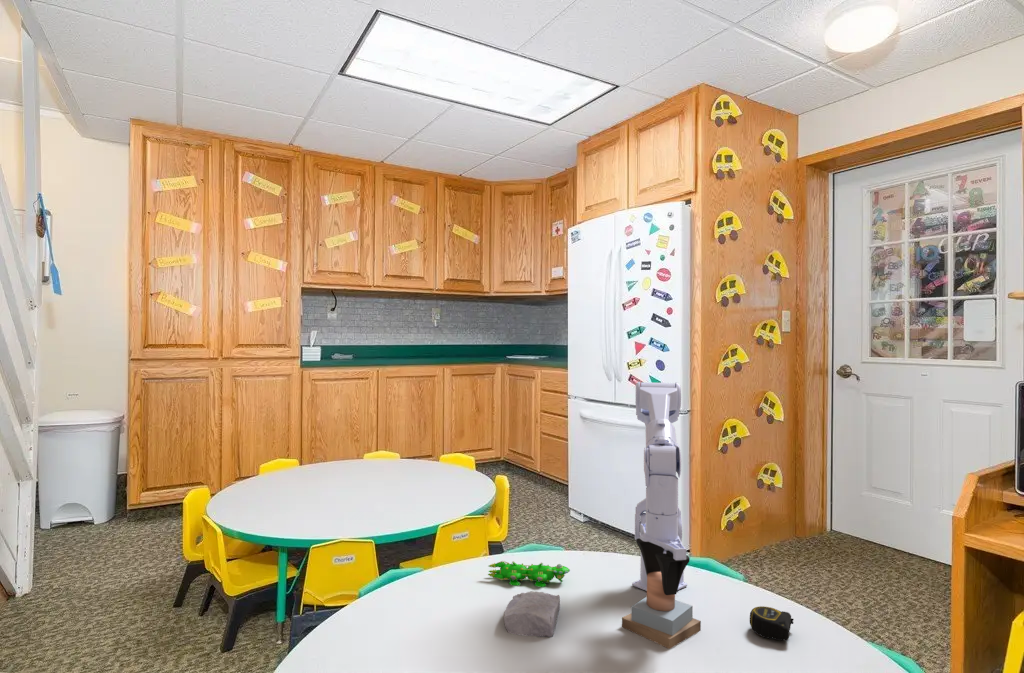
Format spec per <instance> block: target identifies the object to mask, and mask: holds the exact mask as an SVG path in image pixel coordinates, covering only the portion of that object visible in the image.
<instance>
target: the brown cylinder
mask: <svg viewBox="0 0 1024 673" xmlns="http://www.w3.org/2000/svg"><path fill="white" fill-rule="evenodd" d="M646 597H647V601H646V603H647V605H648V606H649V607H650V608H652V609H655V610H659V611H671V610H673V609H674V608H675V600H676V594H675V595H665V594H664V591H663V585H662V575H661V572H651V573H648V575H647V591H646Z"/></svg>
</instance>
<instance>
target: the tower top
mask: <svg viewBox="0 0 1024 673" xmlns="http://www.w3.org/2000/svg"><path fill="white" fill-rule="evenodd" d="M646 601H647V596H645V597H644V598H642V599H641V600H639V601H638V602H636V603H635V604H633V605H631V606H630V608H631V620H632V621H635V622H637V623H640V624H643V625H645V626H648V627H651V628H653V629H656V630H659V631H661V632H664V633H667V634H669V635H672V636H673V635H674V634H675V633H677V632H678V631H679V630H680V629H681V628H683V627H684V626H685V625H686V624H688V623H689V622H690V621H691V620H693V618H694V616H693V614H694V613H693V605H691V604H689V603H685V602H683V601H679V600H676V599H675V608H674V609H673V610H671V611H659V610H655V609H652V608H650V607H649V606H648V605H647V603H646Z"/></svg>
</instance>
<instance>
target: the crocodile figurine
mask: <svg viewBox="0 0 1024 673" xmlns="http://www.w3.org/2000/svg"><path fill="white" fill-rule="evenodd" d="M488 567H489V568H495V569H491V570H488V572H489V573H487V576H489V577H491V578H493V579H494V578H496V579H498V580H500V581H503V580H504V581H505V580H506V581H508V580H509V582H508V585H511V586H514V587H516V586H517V587H518V586H520V585H521V583H520V581H521V582H522V581H523V580H530V582H533V581H535V583H534V586H535V587H539V588H545V587H546V586H547V584H546V583H551V581H552V580H553V579H554V578H555V579H557V580H558V581H560V582H561V583H563V582H564V580H563V579H564V577H565V576H566V574H568V573H569V572H570V571H571V569H570V568H569V567H567V566H565V565H562V564H560V563H558V564H557V565H556V566H550V565H549V564H547V565H544V563H543V562H540V563H539V564H533V563H531V565H530V564H529V565H526V564H524V563H521V564H519V563H516V562H515V561H511V563H509V562H507V561H505V560H501V561H498V562H496V563H495V562H494V563H491V564H489V565H488ZM496 568H499V569H496Z"/></svg>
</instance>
